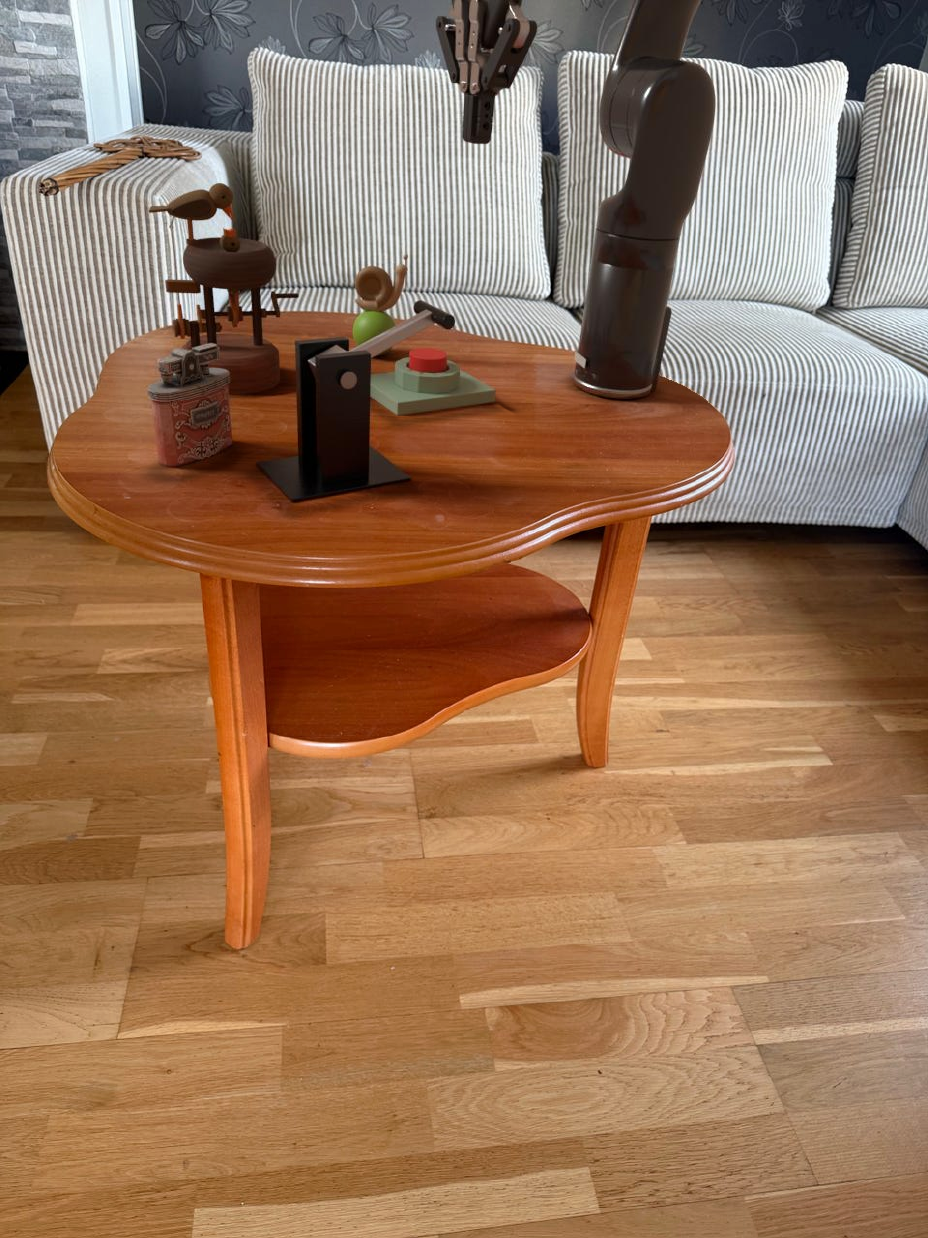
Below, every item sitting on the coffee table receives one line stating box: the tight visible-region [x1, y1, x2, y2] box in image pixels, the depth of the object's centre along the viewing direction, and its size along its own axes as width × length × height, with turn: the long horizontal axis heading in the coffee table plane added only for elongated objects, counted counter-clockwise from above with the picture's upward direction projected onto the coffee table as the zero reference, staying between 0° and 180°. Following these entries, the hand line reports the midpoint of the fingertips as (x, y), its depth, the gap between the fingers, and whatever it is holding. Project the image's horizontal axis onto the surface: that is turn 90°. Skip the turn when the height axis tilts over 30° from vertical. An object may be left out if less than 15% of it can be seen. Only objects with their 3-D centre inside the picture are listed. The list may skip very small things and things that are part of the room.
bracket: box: [255, 336, 412, 504], centre depth 73 cm, size 11×8×12 cm
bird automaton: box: [148, 182, 300, 395], centre depth 92 cm, size 15×11×20 cm
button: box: [408, 347, 448, 373], centre depth 92 cm, size 4×4×2 cm
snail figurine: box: [352, 253, 409, 357], centre depth 105 cm, size 5×6×12 cm
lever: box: [308, 299, 456, 380], centre depth 72 cm, size 12×5×2 cm, turn 122°
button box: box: [370, 356, 497, 416], centre depth 94 cm, size 12×9×4 cm
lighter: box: [146, 343, 234, 469], centre depth 75 cm, size 8×3×10 cm, turn 148°
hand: (476, 142), depth 79 cm, fingers closed
